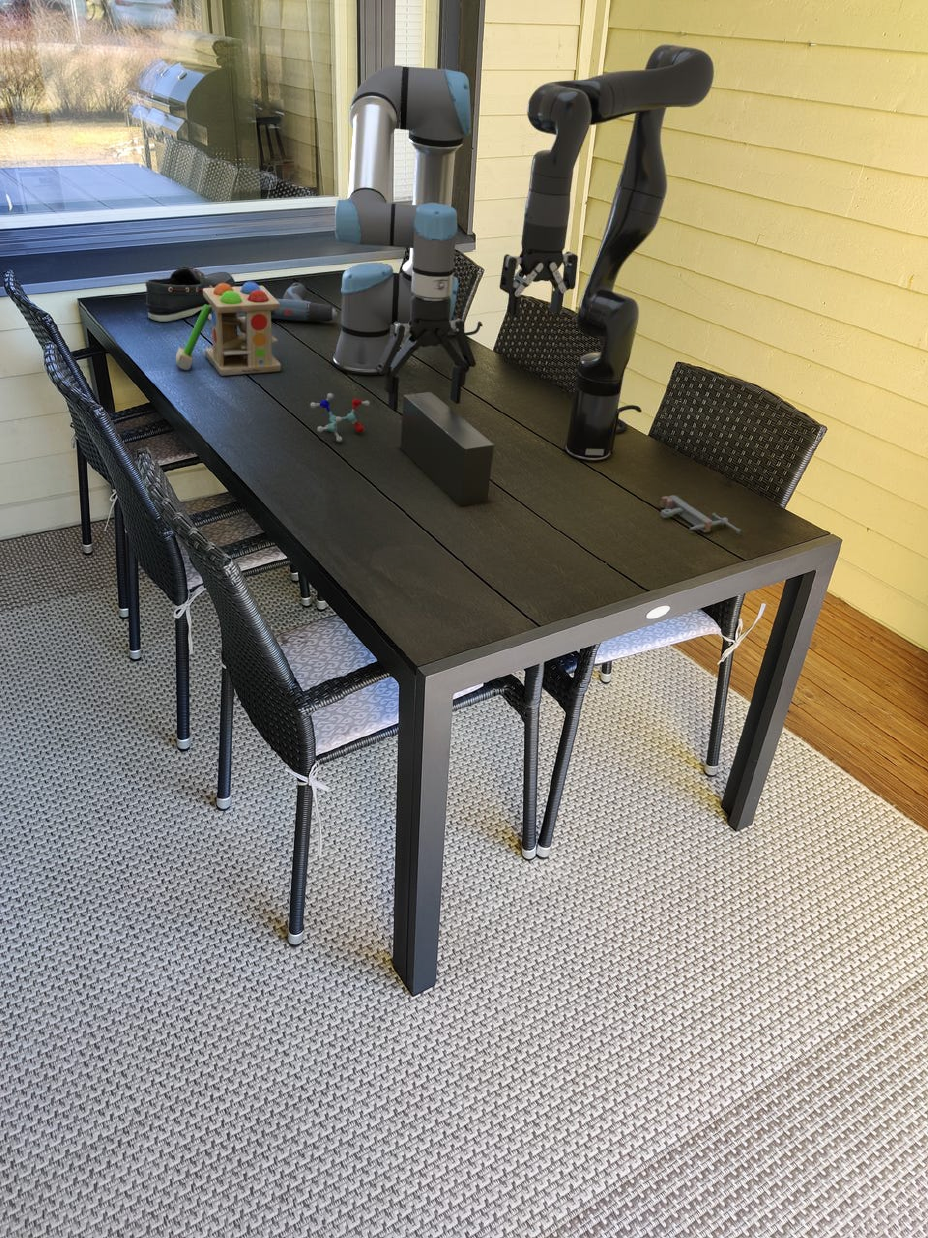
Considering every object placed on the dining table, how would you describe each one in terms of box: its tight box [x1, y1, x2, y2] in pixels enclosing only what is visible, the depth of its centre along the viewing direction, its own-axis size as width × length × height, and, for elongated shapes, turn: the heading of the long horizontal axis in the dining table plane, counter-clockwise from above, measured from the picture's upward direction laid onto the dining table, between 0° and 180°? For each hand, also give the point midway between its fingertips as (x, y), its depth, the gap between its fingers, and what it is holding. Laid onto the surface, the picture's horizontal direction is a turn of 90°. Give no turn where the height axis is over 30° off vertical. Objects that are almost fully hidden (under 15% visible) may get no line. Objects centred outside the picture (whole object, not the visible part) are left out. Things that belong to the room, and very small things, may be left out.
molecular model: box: [309, 392, 371, 443], centre depth 201 cm, size 12×10×10 cm
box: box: [400, 391, 495, 507], centre depth 189 cm, size 26×6×12 cm, turn 28°
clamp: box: [659, 494, 742, 534], centre depth 183 cm, size 15×2×10 cm
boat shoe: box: [144, 265, 237, 323], centre depth 261 cm, size 13×33×10 cm, turn 147°
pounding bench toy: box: [174, 281, 282, 377], centre depth 225 cm, size 23×14×18 cm, turn 116°
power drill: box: [271, 282, 338, 322], centre depth 265 cm, size 5×19×20 cm
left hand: (424, 404), depth 193 cm, fingers open, 13 cm apart
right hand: (534, 314), depth 175 cm, fingers open, 8 cm apart
